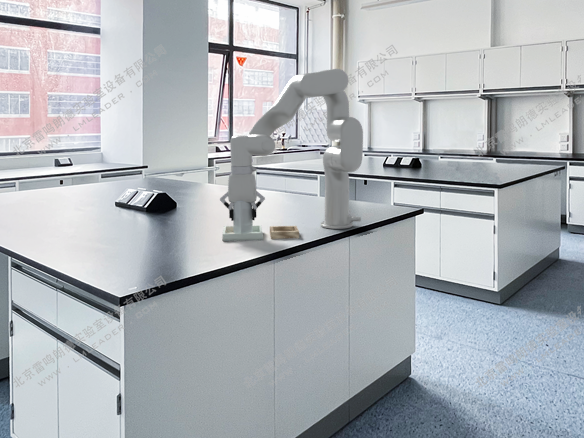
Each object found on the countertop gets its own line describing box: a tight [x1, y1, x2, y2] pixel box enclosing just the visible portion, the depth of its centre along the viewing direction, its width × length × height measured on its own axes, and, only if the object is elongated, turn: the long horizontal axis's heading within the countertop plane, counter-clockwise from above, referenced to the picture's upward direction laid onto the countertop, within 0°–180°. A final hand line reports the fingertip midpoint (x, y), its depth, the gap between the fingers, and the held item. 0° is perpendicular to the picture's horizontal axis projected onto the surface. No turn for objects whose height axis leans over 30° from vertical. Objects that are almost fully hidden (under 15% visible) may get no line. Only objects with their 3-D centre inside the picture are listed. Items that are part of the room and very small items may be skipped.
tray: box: [222, 225, 264, 242], centre depth 192 cm, size 14×14×2 cm
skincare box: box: [232, 201, 254, 233], centre depth 191 cm, size 6×4×12 cm
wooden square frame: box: [269, 225, 300, 240], centre depth 193 cm, size 10×10×2 cm
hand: (243, 219), depth 191 cm, fingers closed on skincare box, 7 cm apart
